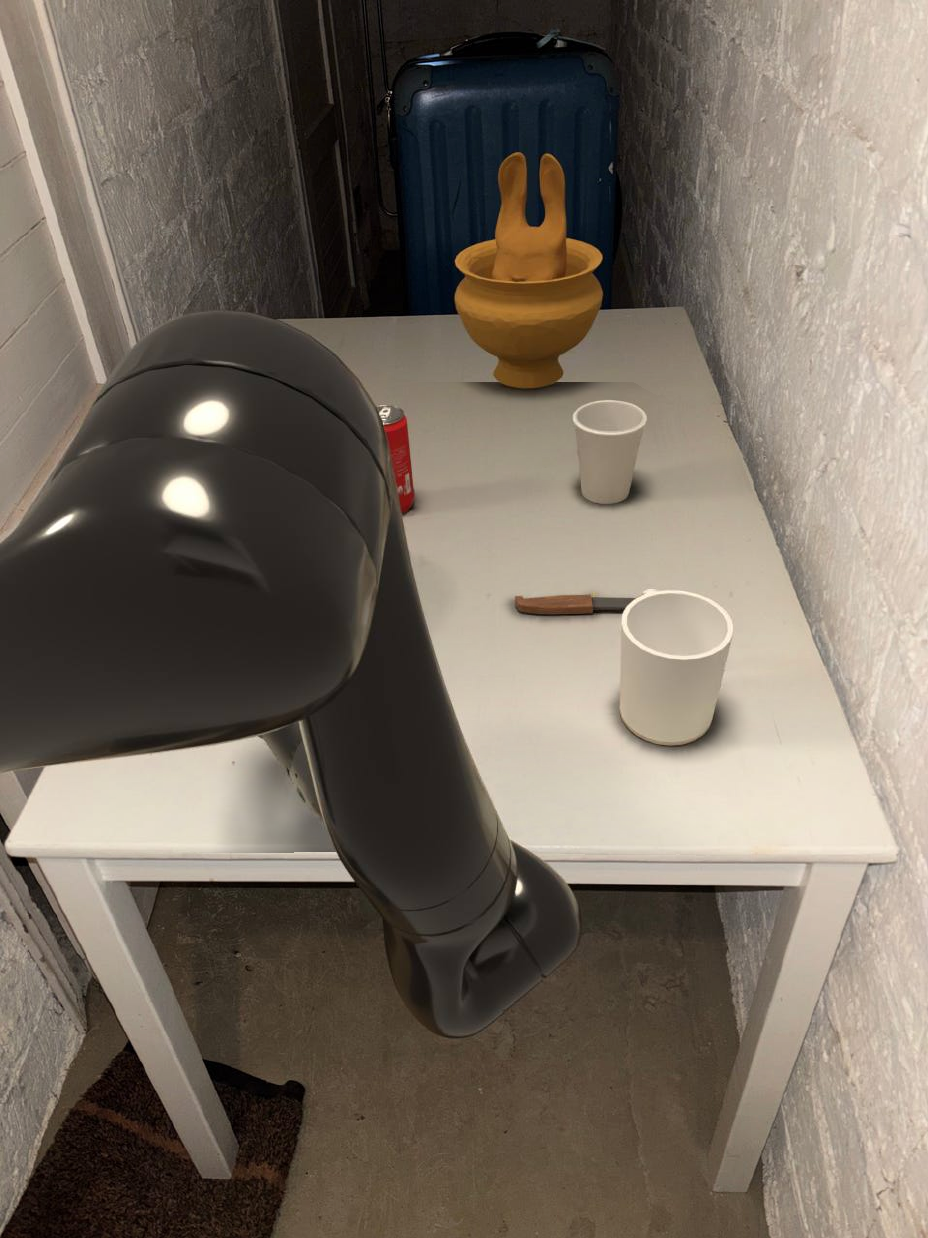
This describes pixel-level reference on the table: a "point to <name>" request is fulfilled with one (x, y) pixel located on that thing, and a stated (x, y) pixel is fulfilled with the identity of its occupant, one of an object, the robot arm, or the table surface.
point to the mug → (672, 664)
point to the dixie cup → (607, 448)
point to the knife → (569, 604)
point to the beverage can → (399, 452)
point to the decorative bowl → (529, 282)
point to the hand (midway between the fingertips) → (245, 624)
